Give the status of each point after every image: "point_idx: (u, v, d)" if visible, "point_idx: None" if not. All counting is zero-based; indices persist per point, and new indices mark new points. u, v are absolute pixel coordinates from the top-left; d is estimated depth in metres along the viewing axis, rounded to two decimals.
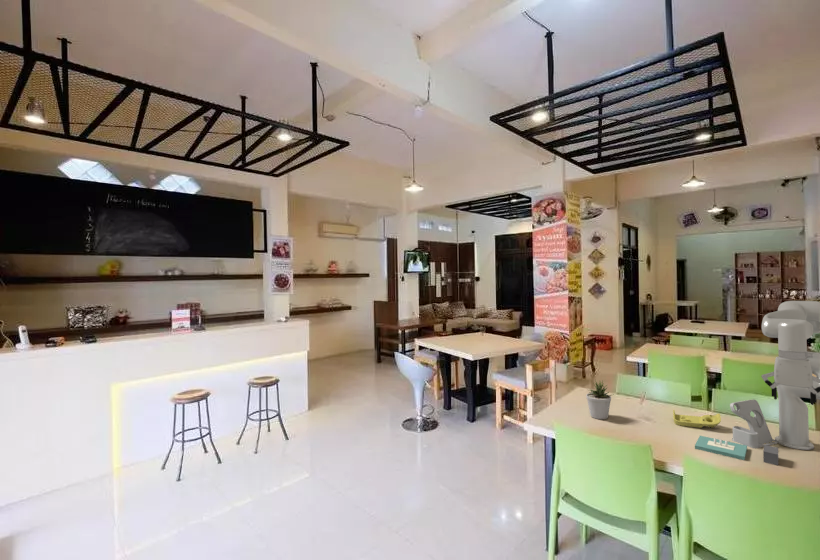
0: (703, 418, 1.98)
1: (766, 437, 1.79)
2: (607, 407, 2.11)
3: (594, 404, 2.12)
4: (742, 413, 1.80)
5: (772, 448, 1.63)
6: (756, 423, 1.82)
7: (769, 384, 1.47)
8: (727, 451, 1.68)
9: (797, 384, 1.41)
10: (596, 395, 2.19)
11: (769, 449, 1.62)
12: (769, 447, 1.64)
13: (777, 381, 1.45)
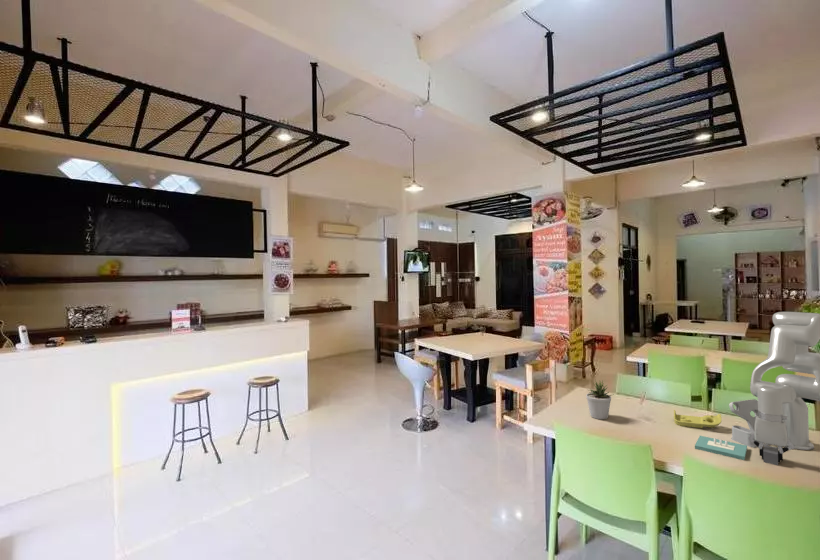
0: (704, 418, 1.98)
1: None
2: (607, 407, 2.11)
3: (594, 404, 2.12)
4: (741, 412, 1.81)
5: (772, 448, 1.63)
6: None
7: (757, 445, 1.64)
8: (727, 451, 1.68)
9: (774, 443, 1.60)
10: (596, 395, 2.19)
11: (769, 449, 1.62)
12: (769, 447, 1.64)
13: (757, 439, 1.64)
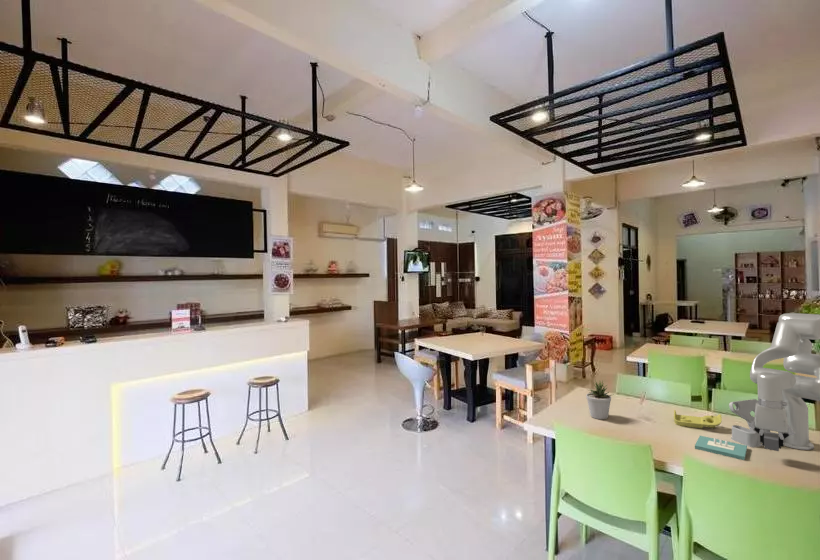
0: (704, 419, 1.97)
1: None
2: (607, 407, 2.11)
3: (594, 404, 2.12)
4: (741, 412, 1.81)
5: (773, 434, 1.63)
6: None
7: (758, 431, 1.65)
8: (727, 451, 1.68)
9: (774, 429, 1.60)
10: (596, 395, 2.19)
11: (769, 435, 1.63)
12: (770, 433, 1.64)
13: (757, 425, 1.64)
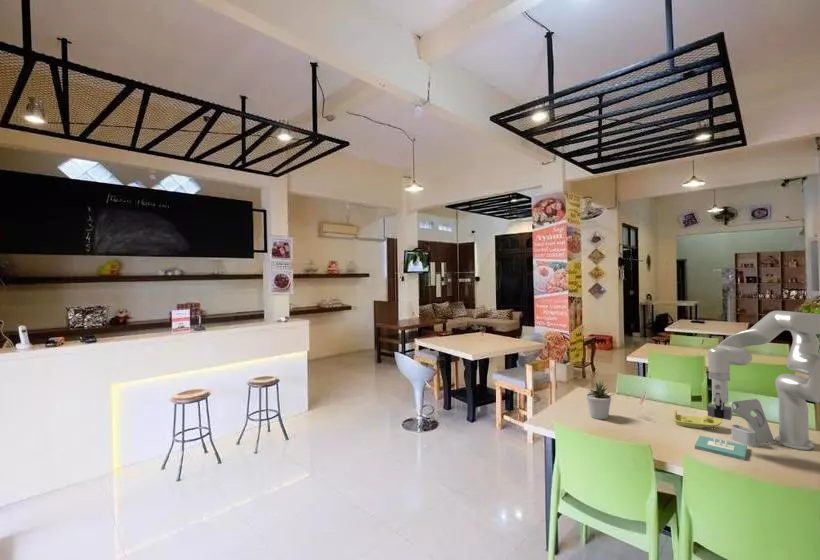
0: (704, 419, 1.97)
1: (766, 437, 1.79)
2: (607, 407, 2.11)
3: (594, 404, 2.12)
4: (741, 412, 1.82)
5: (724, 407, 1.72)
6: (757, 422, 1.83)
7: None
8: (727, 451, 1.68)
9: None
10: (596, 395, 2.19)
11: None
12: (725, 407, 1.72)
13: None
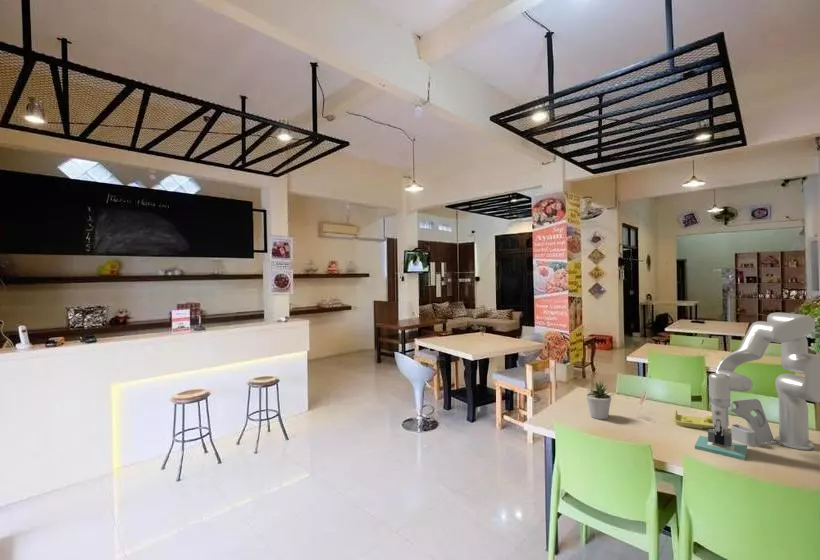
0: (704, 419, 1.97)
1: (766, 437, 1.80)
2: (607, 407, 2.11)
3: (594, 404, 2.12)
4: (741, 412, 1.82)
5: (724, 433, 1.72)
6: (757, 422, 1.83)
7: None
8: (727, 451, 1.68)
9: None
10: (596, 395, 2.19)
11: None
12: (726, 433, 1.73)
13: None
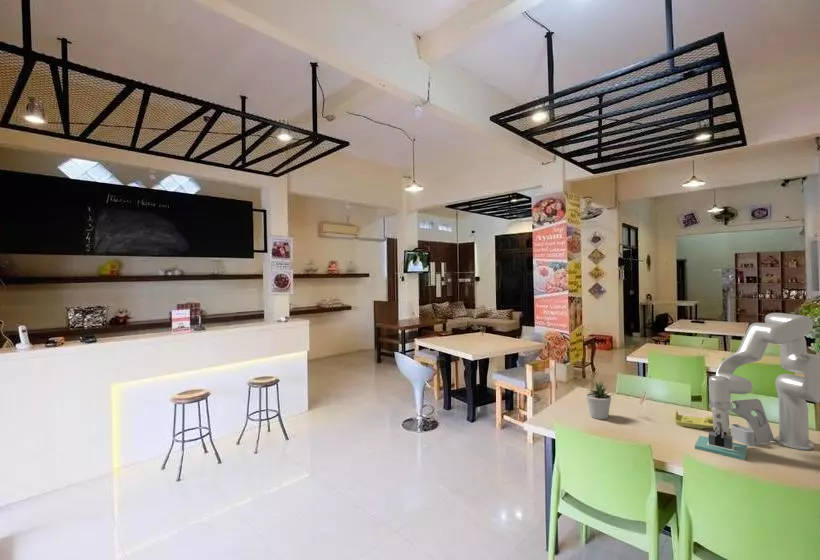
0: (705, 419, 1.96)
1: (766, 437, 1.80)
2: (607, 407, 2.11)
3: (594, 404, 2.12)
4: (740, 411, 1.83)
5: (725, 436, 1.72)
6: (757, 422, 1.83)
7: None
8: (727, 451, 1.68)
9: None
10: (596, 395, 2.19)
11: None
12: (726, 436, 1.73)
13: None
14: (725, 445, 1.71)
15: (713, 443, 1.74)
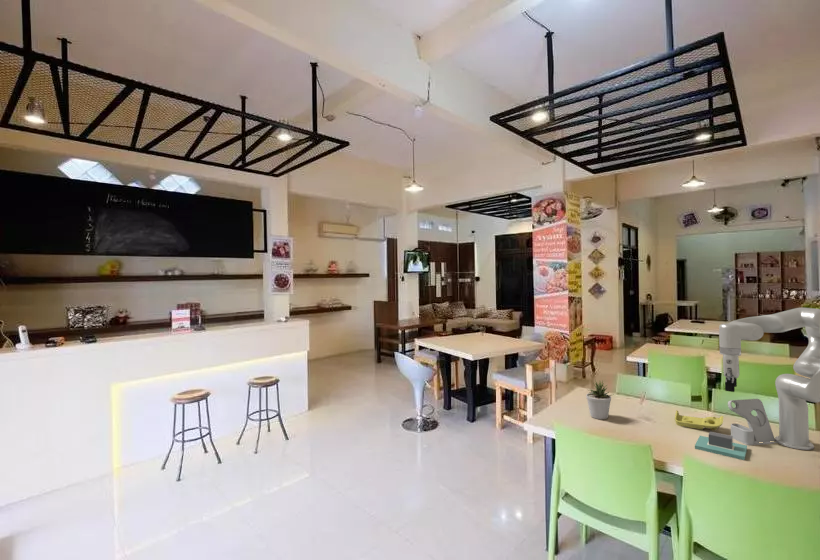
0: (705, 420, 1.96)
1: (766, 436, 1.80)
2: (607, 407, 2.11)
3: (594, 404, 2.12)
4: (740, 411, 1.83)
5: (725, 436, 1.72)
6: (757, 422, 1.83)
7: None
8: (727, 451, 1.68)
9: (724, 373, 1.76)
10: (596, 395, 2.19)
11: (719, 434, 1.74)
12: (726, 436, 1.73)
13: None
14: (725, 445, 1.71)
15: (713, 443, 1.74)
